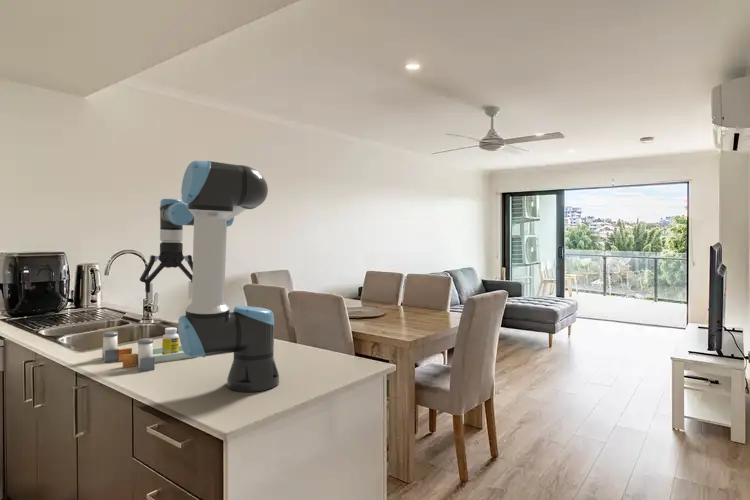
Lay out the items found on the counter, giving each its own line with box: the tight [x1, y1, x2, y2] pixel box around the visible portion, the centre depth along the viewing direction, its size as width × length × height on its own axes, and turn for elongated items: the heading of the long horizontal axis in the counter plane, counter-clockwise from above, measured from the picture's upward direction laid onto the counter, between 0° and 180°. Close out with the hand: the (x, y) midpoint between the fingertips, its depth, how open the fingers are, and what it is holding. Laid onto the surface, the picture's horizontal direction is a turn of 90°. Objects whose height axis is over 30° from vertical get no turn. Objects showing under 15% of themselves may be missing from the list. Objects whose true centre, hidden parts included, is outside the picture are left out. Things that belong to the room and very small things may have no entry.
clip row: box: [101, 345, 156, 372], centre depth 156 cm, size 26×12×4 cm, turn 37°
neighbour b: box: [102, 330, 119, 362], centre depth 161 cm, size 5×5×9 cm
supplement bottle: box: [162, 326, 180, 355], centre depth 165 cm, size 5×5×10 cm
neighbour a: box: [137, 337, 154, 370], centre depth 151 cm, size 5×5×9 cm
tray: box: [153, 344, 197, 364], centre depth 166 cm, size 12×16×2 cm
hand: (171, 300), depth 165 cm, fingers open, 13 cm apart
